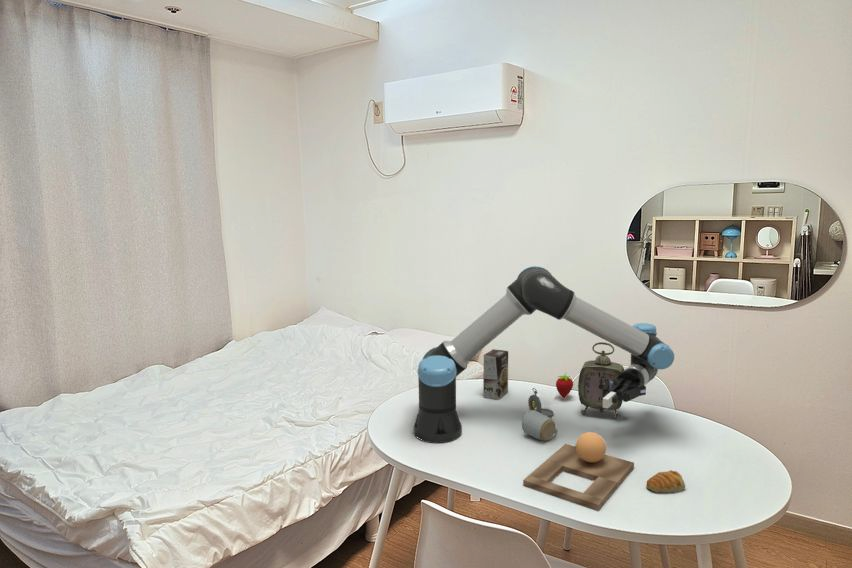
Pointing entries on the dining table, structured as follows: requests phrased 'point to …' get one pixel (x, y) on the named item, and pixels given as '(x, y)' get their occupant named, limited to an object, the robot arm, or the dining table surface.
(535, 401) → the pocket watch
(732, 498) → the dining table surface
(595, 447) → the ball
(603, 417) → the dining table surface
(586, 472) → the hole board
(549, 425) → the ceramic mug
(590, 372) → the tabletop clock
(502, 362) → the coffee box
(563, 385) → the strawberry
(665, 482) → the pastry
